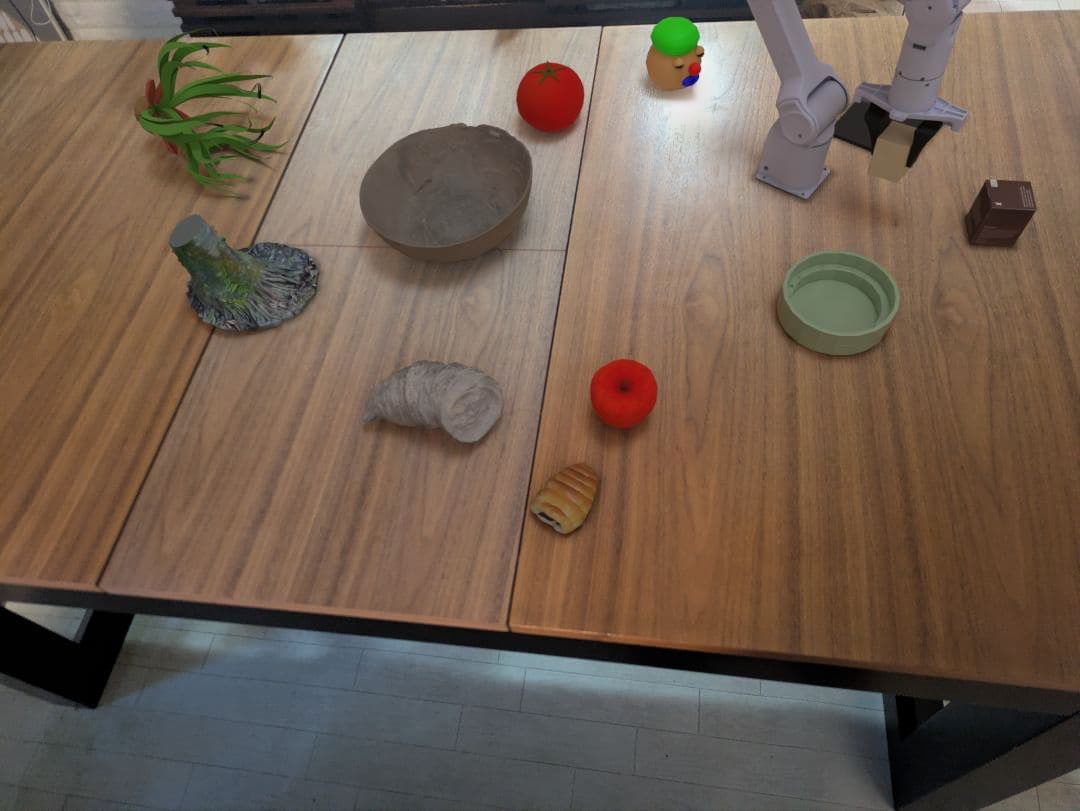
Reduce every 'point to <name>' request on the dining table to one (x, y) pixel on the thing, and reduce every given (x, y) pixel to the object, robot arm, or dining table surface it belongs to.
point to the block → (892, 152)
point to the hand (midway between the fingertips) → (893, 157)
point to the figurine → (674, 54)
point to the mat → (860, 126)
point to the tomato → (550, 97)
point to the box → (1000, 212)
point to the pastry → (567, 497)
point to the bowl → (448, 191)
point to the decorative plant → (178, 124)
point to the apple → (623, 393)
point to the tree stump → (242, 278)
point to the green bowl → (837, 302)
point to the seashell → (438, 399)
